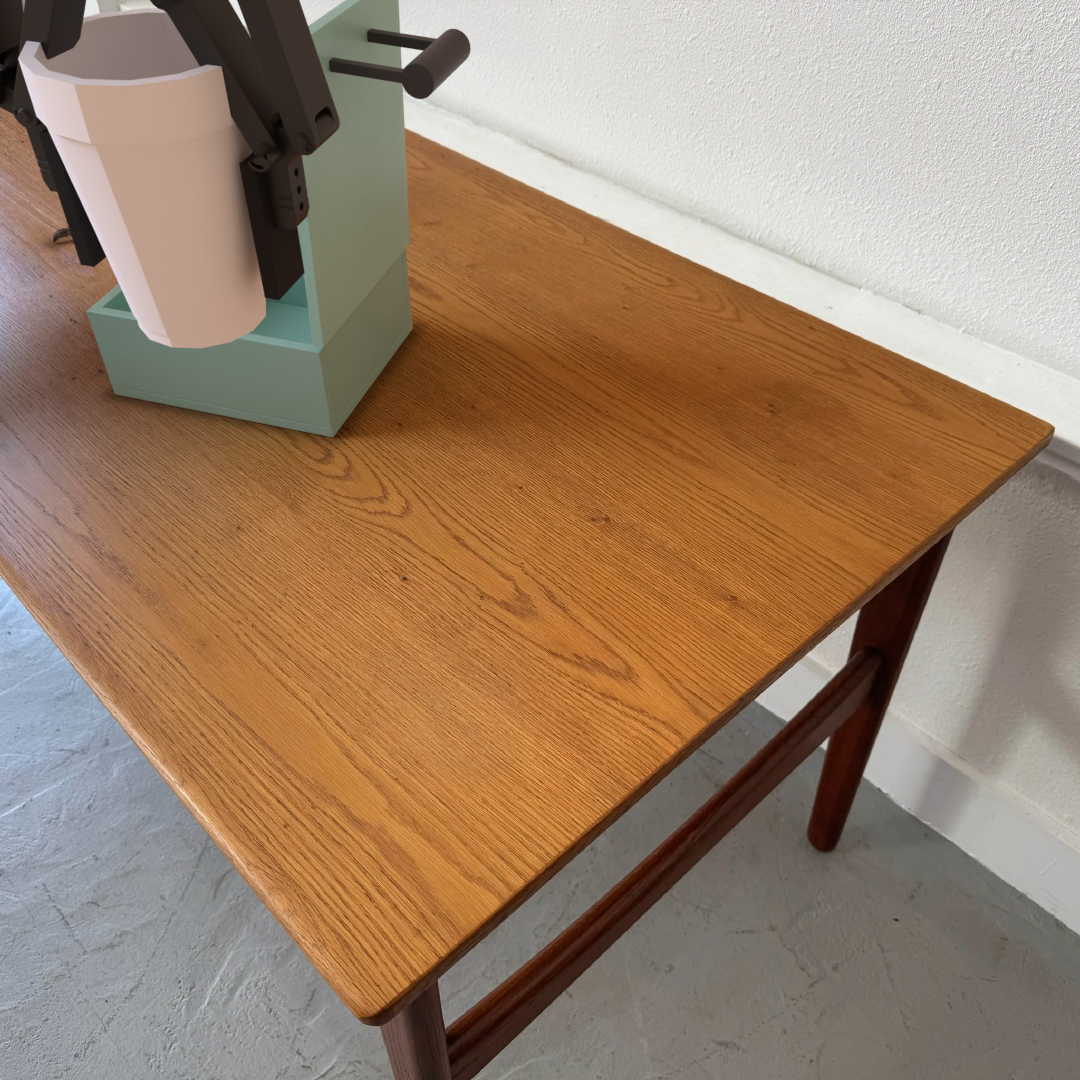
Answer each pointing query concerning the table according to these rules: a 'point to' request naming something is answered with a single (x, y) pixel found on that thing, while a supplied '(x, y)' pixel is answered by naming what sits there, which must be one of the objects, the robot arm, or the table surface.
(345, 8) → the freezer lid
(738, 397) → the table surface
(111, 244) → the foam cup
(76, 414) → the table surface
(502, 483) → the table surface
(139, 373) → the box
